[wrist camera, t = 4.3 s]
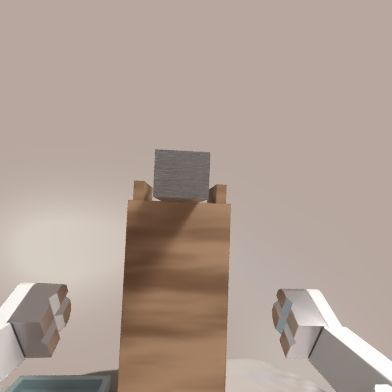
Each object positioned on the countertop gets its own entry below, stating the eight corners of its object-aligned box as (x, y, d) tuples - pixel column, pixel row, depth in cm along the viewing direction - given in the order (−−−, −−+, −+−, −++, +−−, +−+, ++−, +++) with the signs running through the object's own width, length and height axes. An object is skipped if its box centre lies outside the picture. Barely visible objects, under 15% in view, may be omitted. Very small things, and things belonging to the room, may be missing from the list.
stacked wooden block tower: (222, 484, 23) (231, 184, 24) (112, 488, 22) (129, 179, 24) (209, 401, 33) (216, 191, 34) (132, 402, 32) (143, 188, 34)
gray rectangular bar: (215, 199, 16) (217, 137, 16) (145, 196, 15) (148, 133, 16) (194, 205, 36) (195, 177, 36) (164, 203, 35) (165, 176, 36)
